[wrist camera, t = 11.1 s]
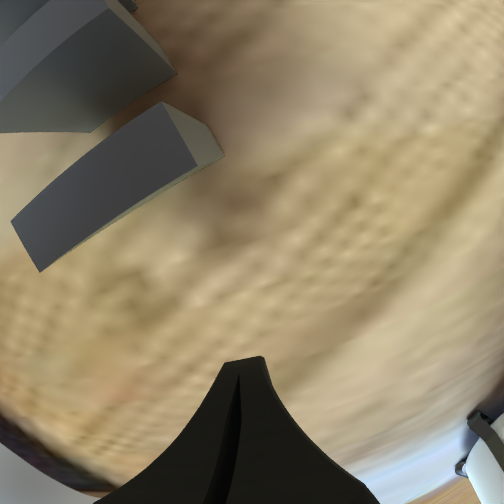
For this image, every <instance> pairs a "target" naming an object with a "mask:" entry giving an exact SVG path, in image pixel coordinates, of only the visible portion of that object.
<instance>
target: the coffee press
mask: <svg viewBox="0 0 504 504" xmlns="http://www.w3.org/2000/svg"><path fill="white" fill-rule="evenodd" d="M467 424H468V426H469V427H470V428H471V429H472V430H473V431H474V432H475V433H476V434H477V435H478V436H479V437H480V438H479V439H478V441H477V442H476V444H475V445H474V446H473V448H472V450H471V451H470V453H469V456H468V458H467V461H466V462H459V463H458V464H457V465H456V467H455V473H456V474H457V475H460V476H464V477H467V478H469V479H470V481H471V483H472V485H473V487H474V489H475V491H476V493H477V495H478V497H479V499H480V501H481V503H482V504H504V413H503V414H502V415H500V416H499V417H498V418H497V419H496V420H493V419H491V418H489V417H488V416H486V415H485V414H484V413H482V412H481V411H479V410H477V411H476V412H475V413H474V415H473V416H472V417H471V418H470V419H469V420H468V421H467ZM465 463H466V473H467V474H465V473H463V472H462V467H463V465H464V464H465Z"/></svg>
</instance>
